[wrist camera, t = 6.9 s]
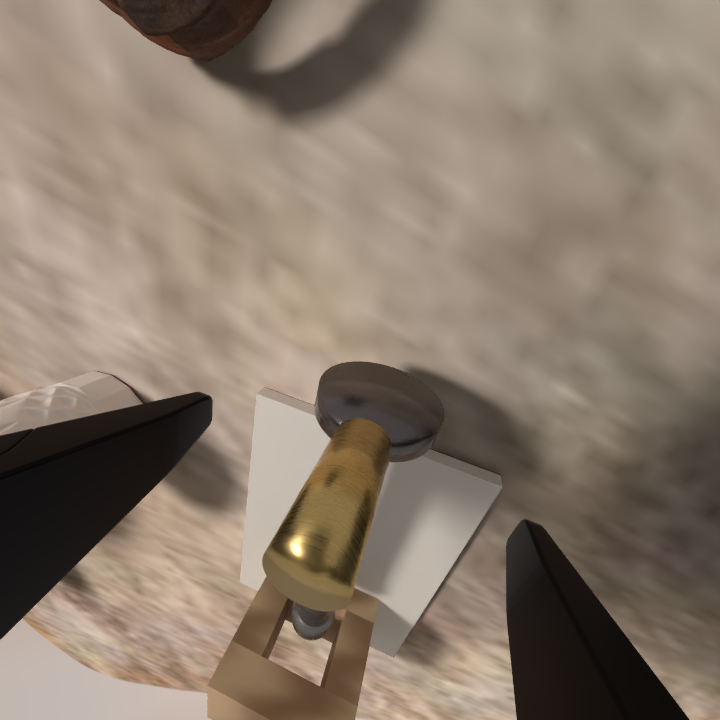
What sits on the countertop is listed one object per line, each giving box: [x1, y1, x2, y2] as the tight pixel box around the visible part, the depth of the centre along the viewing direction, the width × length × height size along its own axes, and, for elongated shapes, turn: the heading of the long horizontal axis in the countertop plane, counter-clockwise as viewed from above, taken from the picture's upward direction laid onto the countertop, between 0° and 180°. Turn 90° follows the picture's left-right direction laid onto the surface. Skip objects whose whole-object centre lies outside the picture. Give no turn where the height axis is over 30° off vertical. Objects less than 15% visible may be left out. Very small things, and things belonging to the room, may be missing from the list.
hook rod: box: [262, 362, 444, 640], centre depth 13 cm, size 5×18×9 cm, turn 167°
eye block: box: [208, 576, 379, 720], centre depth 20 cm, size 8×5×8 cm, turn 77°
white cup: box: [0, 371, 143, 435], centre depth 18 cm, size 8×8×10 cm
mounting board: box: [240, 387, 503, 657], centre depth 21 cm, size 14×20×1 cm
